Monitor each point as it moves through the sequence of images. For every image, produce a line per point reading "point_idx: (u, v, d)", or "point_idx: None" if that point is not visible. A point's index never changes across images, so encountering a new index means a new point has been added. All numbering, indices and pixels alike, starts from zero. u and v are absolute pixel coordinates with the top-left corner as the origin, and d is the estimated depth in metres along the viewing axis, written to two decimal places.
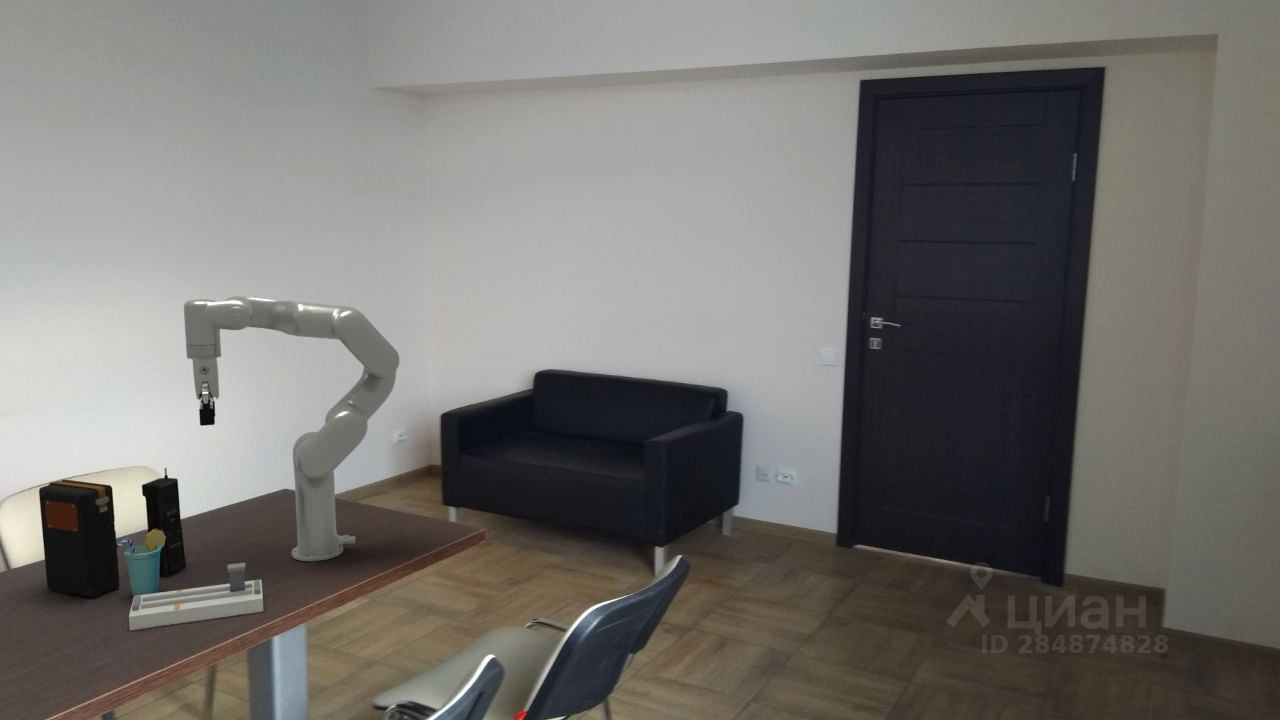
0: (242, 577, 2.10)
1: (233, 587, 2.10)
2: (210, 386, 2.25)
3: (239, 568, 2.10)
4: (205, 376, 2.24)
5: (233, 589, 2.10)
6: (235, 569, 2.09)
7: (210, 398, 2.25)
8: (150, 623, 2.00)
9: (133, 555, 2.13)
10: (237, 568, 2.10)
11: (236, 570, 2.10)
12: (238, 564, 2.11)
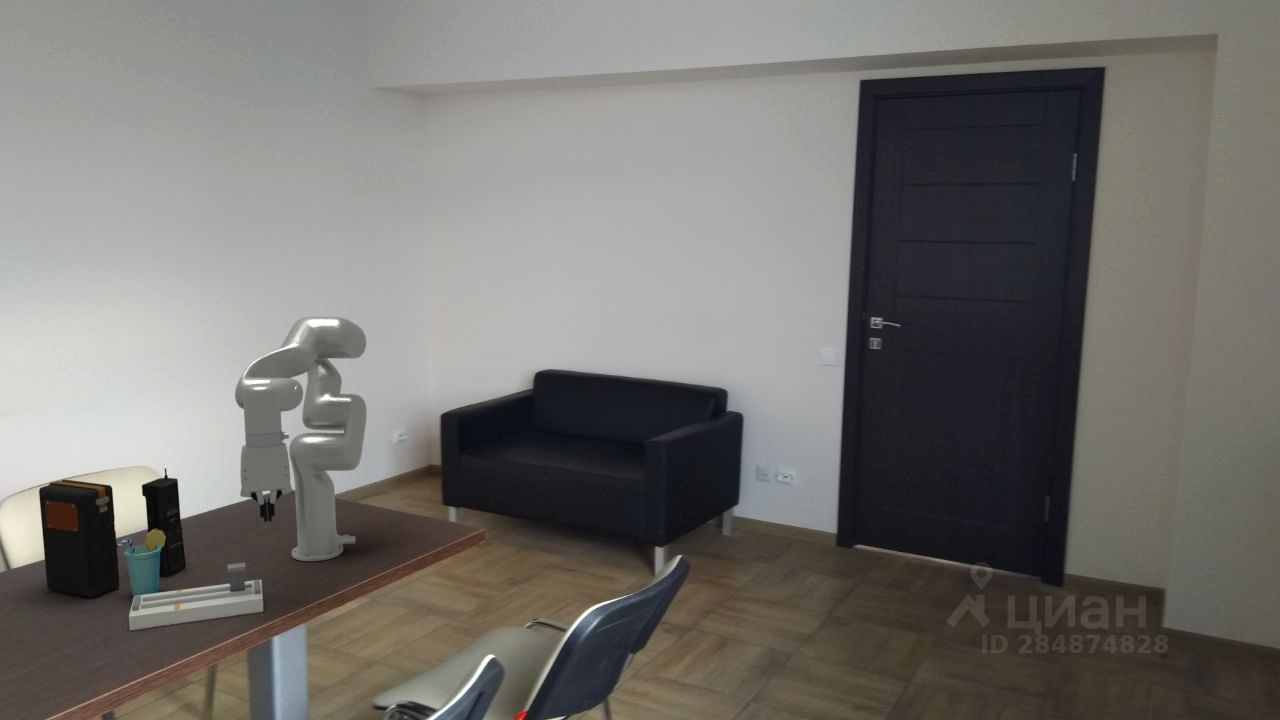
0: (242, 577, 2.10)
1: (233, 587, 2.10)
2: None
3: (239, 568, 2.10)
4: None
5: (233, 589, 2.10)
6: (235, 569, 2.09)
7: None
8: (150, 623, 2.00)
9: (133, 555, 2.13)
10: (237, 568, 2.10)
11: (236, 570, 2.10)
12: (238, 564, 2.11)
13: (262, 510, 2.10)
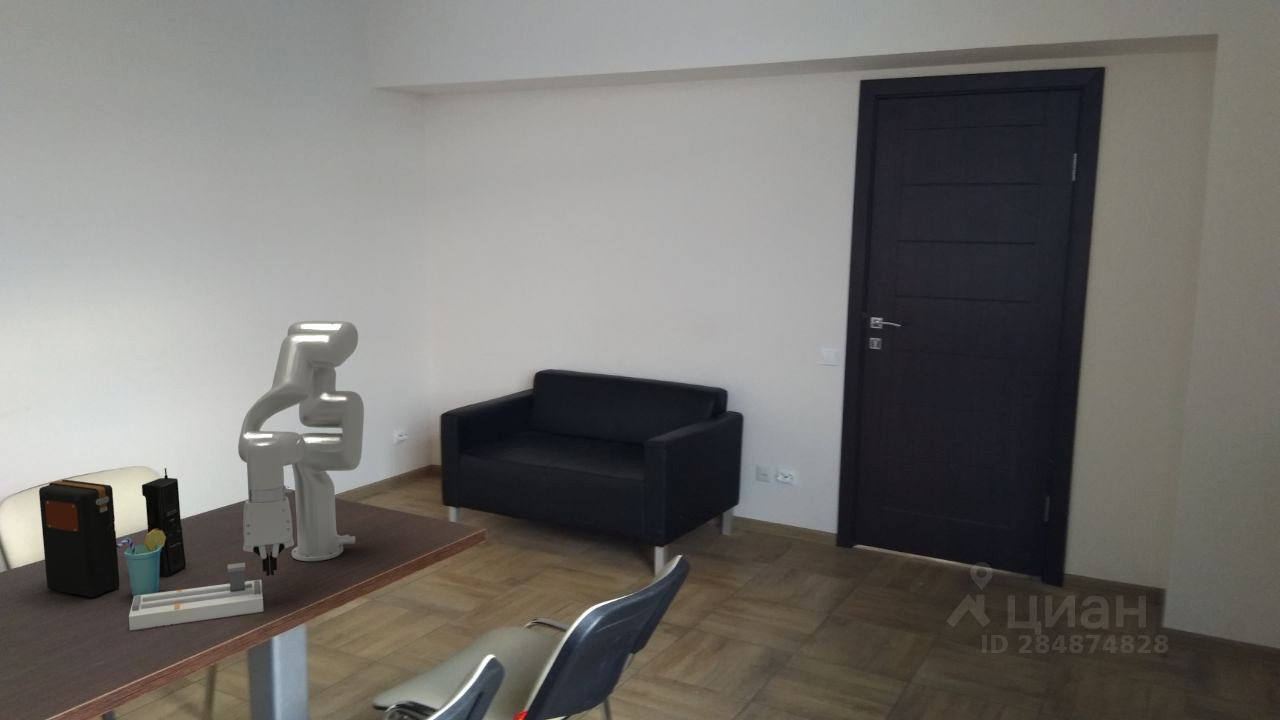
0: (242, 577, 2.10)
1: (233, 587, 2.10)
2: None
3: (239, 568, 2.10)
4: None
5: (233, 589, 2.10)
6: (235, 569, 2.09)
7: (278, 544, 2.14)
8: (150, 623, 2.00)
9: (133, 555, 2.13)
10: (237, 568, 2.10)
11: (236, 570, 2.10)
12: (238, 564, 2.11)
13: (264, 564, 2.12)
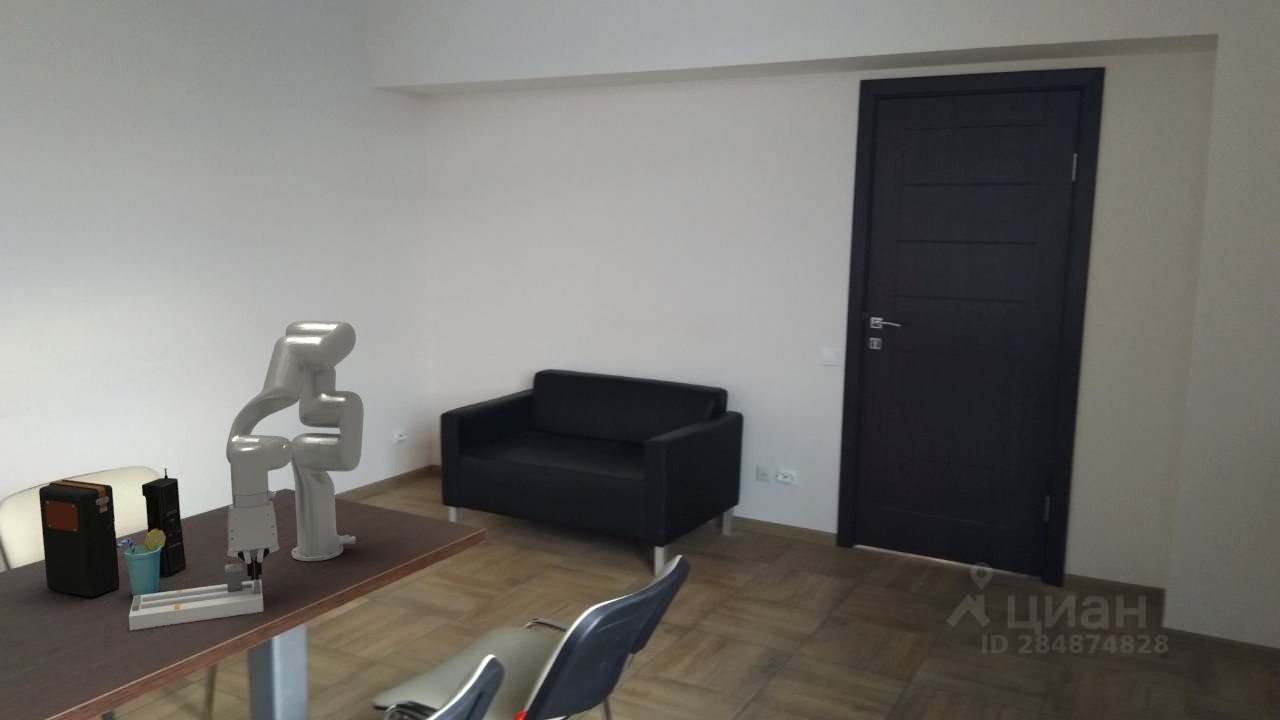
0: (239, 577, 2.10)
1: (231, 588, 2.10)
2: None
3: (236, 568, 2.10)
4: (275, 519, 2.13)
5: (230, 590, 2.10)
6: (232, 569, 2.09)
7: None
8: (150, 623, 2.00)
9: (133, 555, 2.13)
10: (234, 568, 2.09)
11: (233, 570, 2.09)
12: (235, 564, 2.11)
13: (249, 569, 2.11)
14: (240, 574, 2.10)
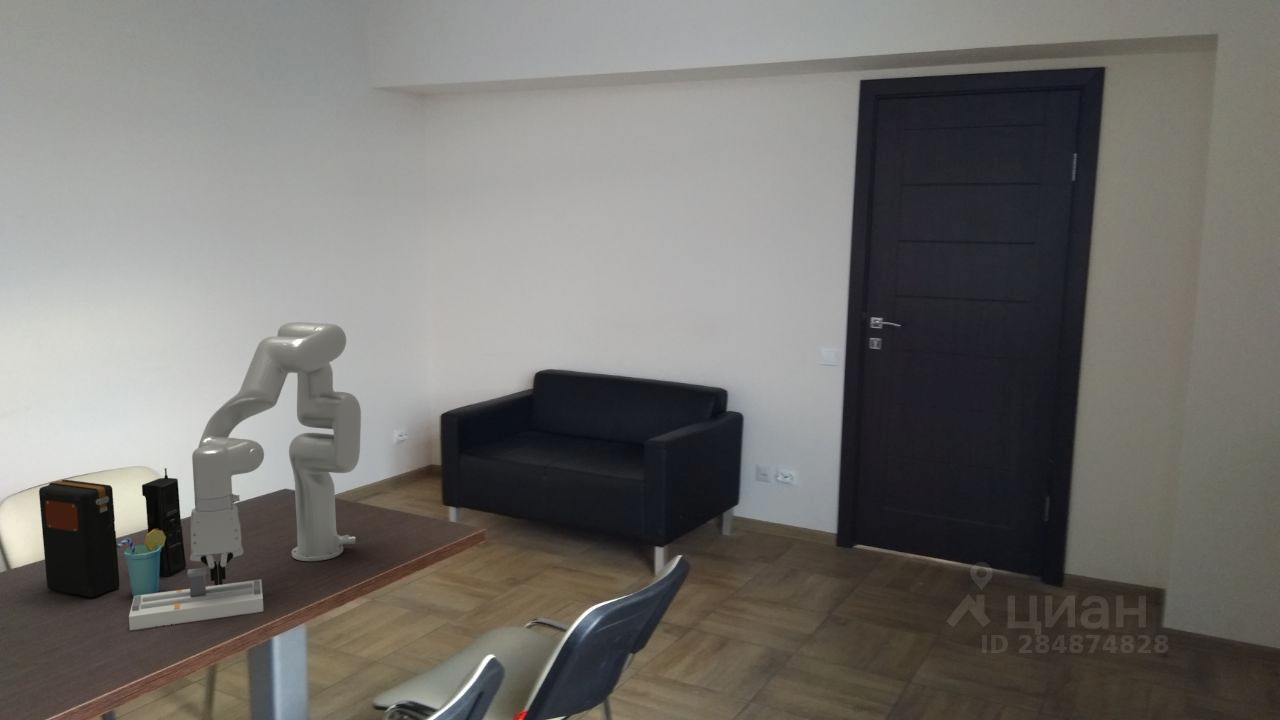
0: (202, 582, 2.07)
1: (194, 593, 2.07)
2: None
3: (199, 573, 2.07)
4: (239, 523, 2.10)
5: (193, 595, 2.07)
6: (195, 574, 2.06)
7: None
8: (150, 623, 2.00)
9: (133, 555, 2.13)
10: (197, 573, 2.06)
11: (196, 575, 2.06)
12: (199, 569, 2.08)
13: (212, 573, 2.08)
14: (203, 579, 2.07)
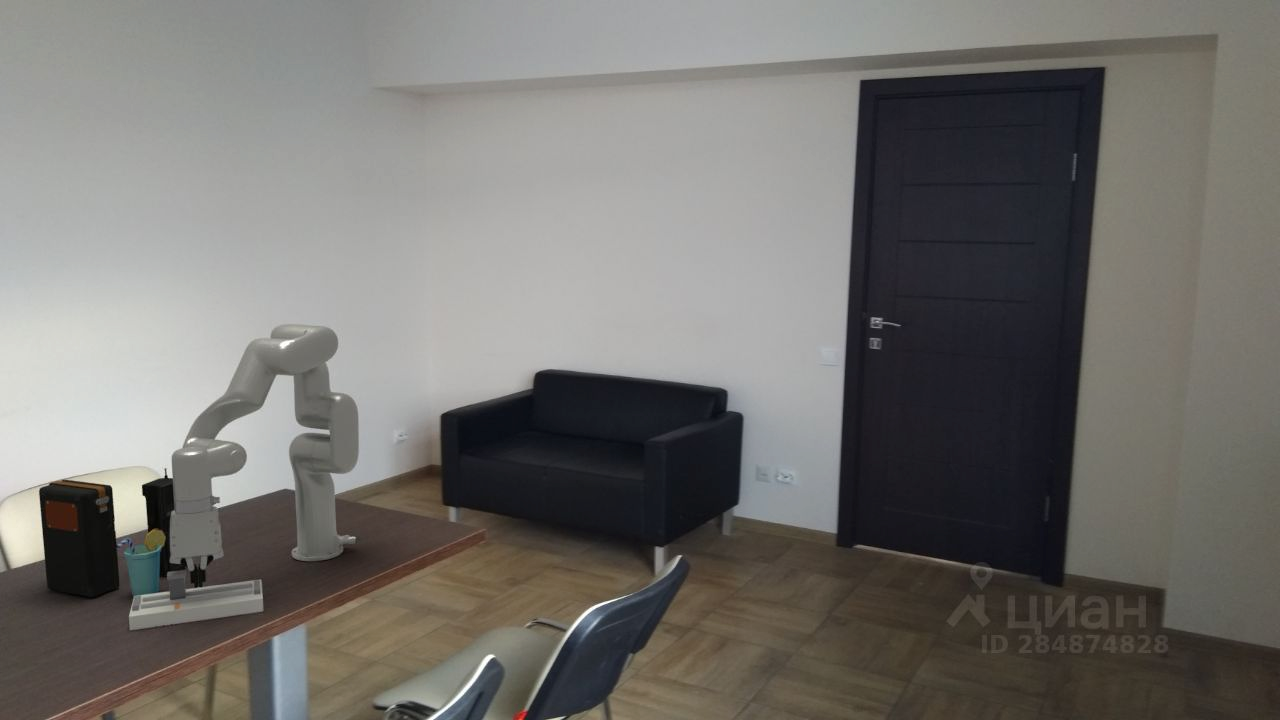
0: (182, 585, 2.06)
1: (173, 595, 2.05)
2: None
3: (179, 576, 2.05)
4: None
5: (173, 597, 2.05)
6: (175, 577, 2.05)
7: (207, 555, 2.09)
8: (150, 623, 2.00)
9: (133, 555, 2.13)
10: (177, 576, 2.05)
11: (176, 578, 2.05)
12: (178, 571, 2.07)
13: (192, 576, 2.07)
14: (183, 581, 2.06)
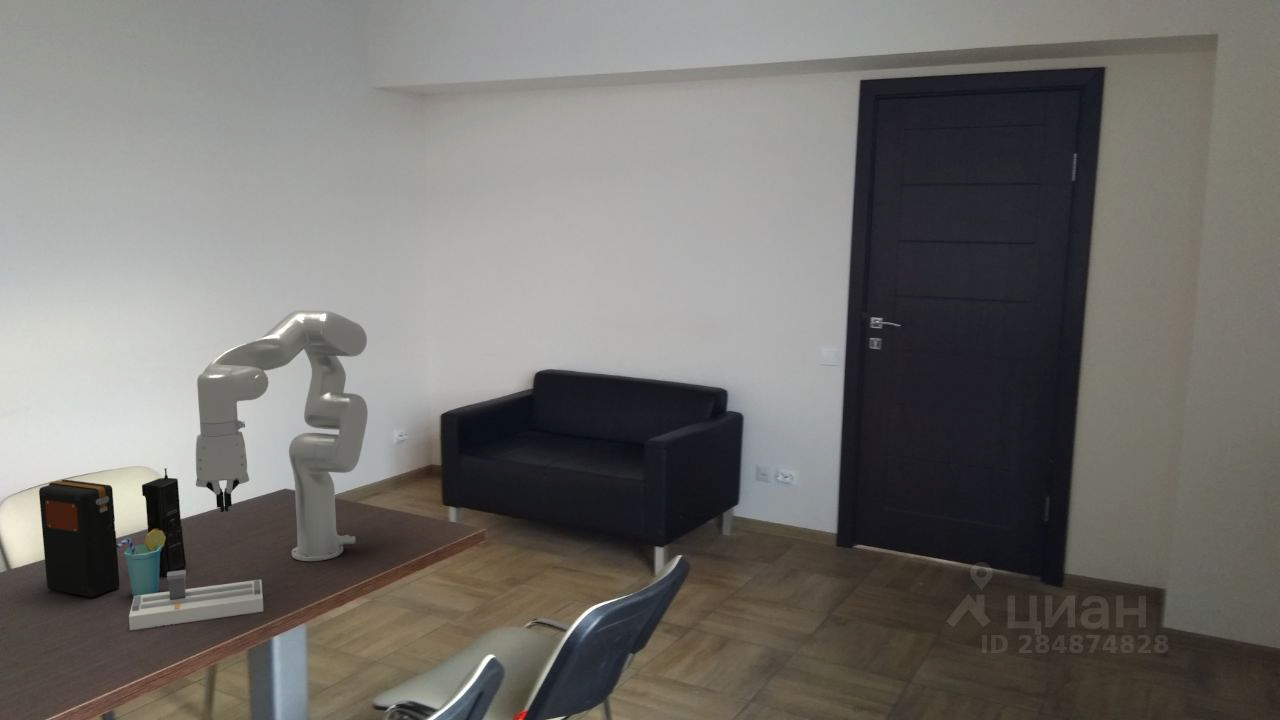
0: (182, 585, 2.06)
1: (173, 595, 2.05)
2: (246, 460, 2.10)
3: (179, 576, 2.05)
4: (245, 450, 2.09)
5: (173, 597, 2.05)
6: (175, 577, 2.05)
7: (233, 480, 2.09)
8: (150, 623, 2.00)
9: (133, 555, 2.13)
10: (177, 576, 2.05)
11: (176, 578, 2.05)
12: (178, 571, 2.07)
13: (218, 500, 2.07)
14: (183, 581, 2.06)
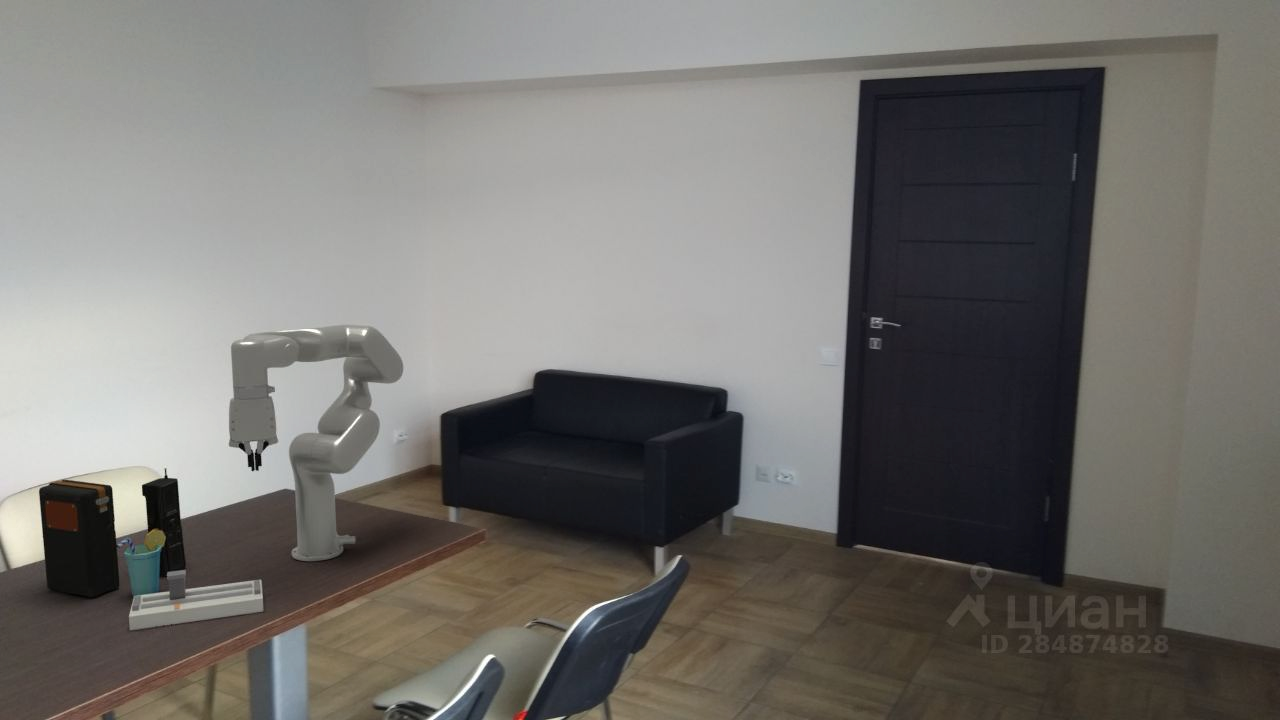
0: (182, 585, 2.06)
1: (173, 595, 2.05)
2: None
3: (179, 576, 2.05)
4: None
5: (173, 597, 2.05)
6: (175, 577, 2.05)
7: (263, 441, 2.24)
8: (150, 623, 2.00)
9: (133, 555, 2.13)
10: (177, 576, 2.05)
11: (176, 578, 2.05)
12: (178, 571, 2.07)
13: (249, 460, 2.21)
14: (183, 581, 2.06)
